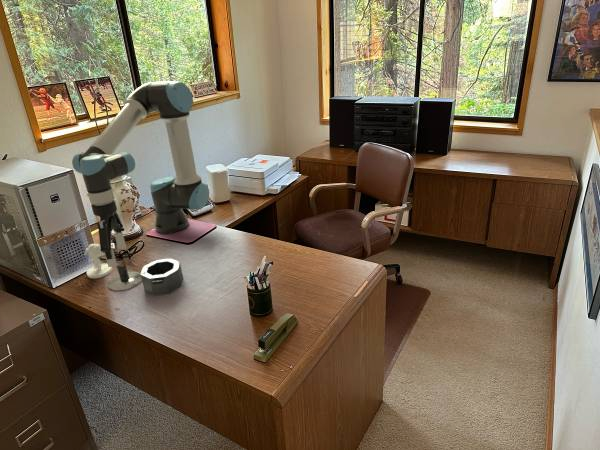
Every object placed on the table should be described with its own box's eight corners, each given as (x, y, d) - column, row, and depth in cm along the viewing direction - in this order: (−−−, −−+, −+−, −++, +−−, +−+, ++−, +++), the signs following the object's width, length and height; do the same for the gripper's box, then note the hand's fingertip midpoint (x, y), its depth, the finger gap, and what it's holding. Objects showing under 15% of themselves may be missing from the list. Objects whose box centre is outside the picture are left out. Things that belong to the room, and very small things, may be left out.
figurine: (82, 275, 165) (72, 248, 160) (101, 264, 172) (93, 237, 167) (98, 280, 161) (89, 252, 156) (117, 268, 168) (109, 241, 163)
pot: (150, 275, 161) (146, 259, 158) (184, 271, 162) (181, 255, 159) (141, 299, 147) (137, 282, 144) (180, 294, 148) (176, 277, 145)
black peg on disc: (113, 275, 164) (108, 260, 161) (145, 271, 165) (141, 256, 162) (104, 293, 153) (99, 276, 150) (139, 288, 154) (134, 272, 151)
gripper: (101, 190, 156) (115, 243, 165) (79, 217, 134) (96, 275, 142) (123, 188, 157) (135, 240, 166) (103, 214, 134) (119, 273, 143)
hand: (117, 257), depth 154 cm, fingers open, 13 cm apart
